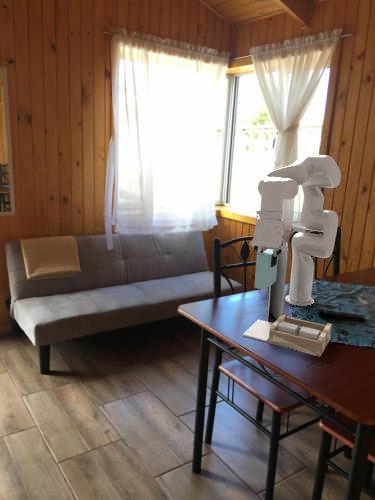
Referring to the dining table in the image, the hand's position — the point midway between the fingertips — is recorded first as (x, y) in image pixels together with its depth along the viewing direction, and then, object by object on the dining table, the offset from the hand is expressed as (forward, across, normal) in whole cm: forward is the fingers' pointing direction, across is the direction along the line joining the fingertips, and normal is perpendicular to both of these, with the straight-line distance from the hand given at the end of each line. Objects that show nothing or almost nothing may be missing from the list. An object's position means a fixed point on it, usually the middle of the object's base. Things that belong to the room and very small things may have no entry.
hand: (266, 264), depth 150 cm
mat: (+26, 0, 0) cm, 26 cm away
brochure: (+26, 0, +16) cm, 31 cm away
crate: (+26, +14, -1) cm, 30 cm away
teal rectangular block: (+7, 0, 0) cm, 7 cm away
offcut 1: (+26, +11, -4) cm, 28 cm away
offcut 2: (+26, +18, -4) cm, 32 cm away
